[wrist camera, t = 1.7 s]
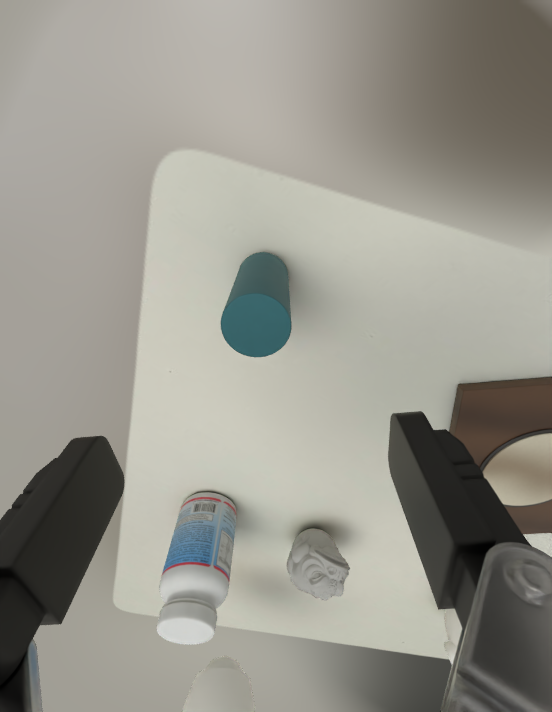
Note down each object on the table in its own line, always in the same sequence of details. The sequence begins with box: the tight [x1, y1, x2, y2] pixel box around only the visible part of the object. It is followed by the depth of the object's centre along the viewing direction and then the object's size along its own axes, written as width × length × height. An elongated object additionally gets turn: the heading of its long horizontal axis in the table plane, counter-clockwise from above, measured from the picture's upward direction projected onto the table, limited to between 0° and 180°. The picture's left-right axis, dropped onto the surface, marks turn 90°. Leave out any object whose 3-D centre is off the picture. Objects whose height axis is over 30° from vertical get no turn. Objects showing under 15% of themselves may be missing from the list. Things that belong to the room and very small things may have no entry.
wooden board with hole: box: [449, 377, 552, 534], centre depth 33 cm, size 20×16×1 cm
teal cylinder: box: [221, 252, 291, 357], centre depth 20 cm, size 3×3×9 cm
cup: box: [182, 656, 255, 712], centre depth 34 cm, size 7×7×21 cm
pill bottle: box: [157, 492, 237, 645], centre depth 32 cm, size 6×6×11 cm
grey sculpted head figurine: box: [287, 528, 350, 600], centre depth 36 cm, size 6×7×7 cm
